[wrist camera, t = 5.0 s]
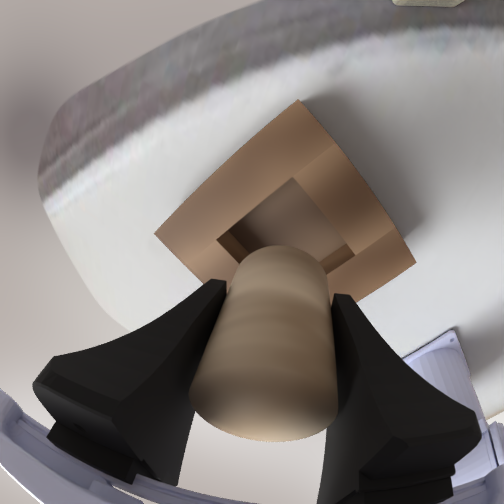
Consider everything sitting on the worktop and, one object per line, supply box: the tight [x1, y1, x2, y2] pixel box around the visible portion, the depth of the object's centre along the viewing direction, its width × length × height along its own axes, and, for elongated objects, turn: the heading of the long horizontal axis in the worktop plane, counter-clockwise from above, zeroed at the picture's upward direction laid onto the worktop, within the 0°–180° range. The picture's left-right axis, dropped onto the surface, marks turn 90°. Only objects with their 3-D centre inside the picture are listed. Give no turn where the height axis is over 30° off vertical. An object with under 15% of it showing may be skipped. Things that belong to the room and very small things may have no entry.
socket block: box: [154, 100, 417, 305], centre depth 17 cm, size 11×11×3 cm
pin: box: [189, 245, 338, 442], centre depth 9 cm, size 4×4×6 cm
